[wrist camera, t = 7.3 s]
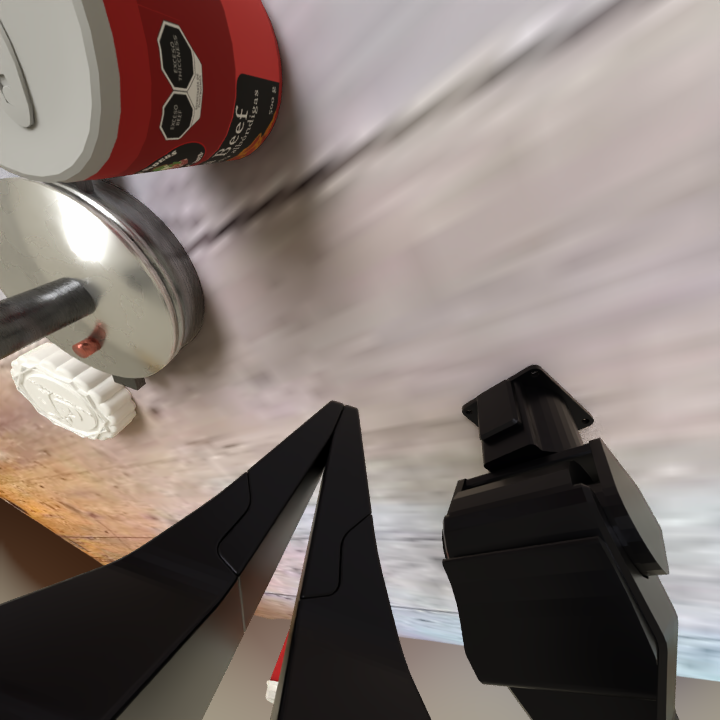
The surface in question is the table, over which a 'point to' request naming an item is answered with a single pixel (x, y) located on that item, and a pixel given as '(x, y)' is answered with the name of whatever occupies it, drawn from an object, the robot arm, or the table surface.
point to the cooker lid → (79, 283)
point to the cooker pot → (150, 255)
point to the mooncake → (73, 393)
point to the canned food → (133, 85)
